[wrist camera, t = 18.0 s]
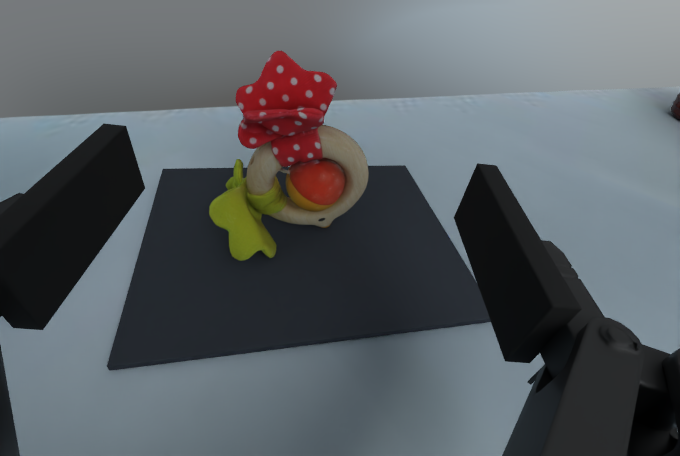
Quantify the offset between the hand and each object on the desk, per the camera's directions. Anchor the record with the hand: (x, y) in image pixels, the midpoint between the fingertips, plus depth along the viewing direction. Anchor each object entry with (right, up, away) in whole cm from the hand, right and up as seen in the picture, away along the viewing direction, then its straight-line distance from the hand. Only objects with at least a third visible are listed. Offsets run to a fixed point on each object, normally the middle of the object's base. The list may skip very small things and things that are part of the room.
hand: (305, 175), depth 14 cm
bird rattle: (-2, -2, +10) cm, 10 cm away
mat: (-1, -3, +10) cm, 10 cm away
